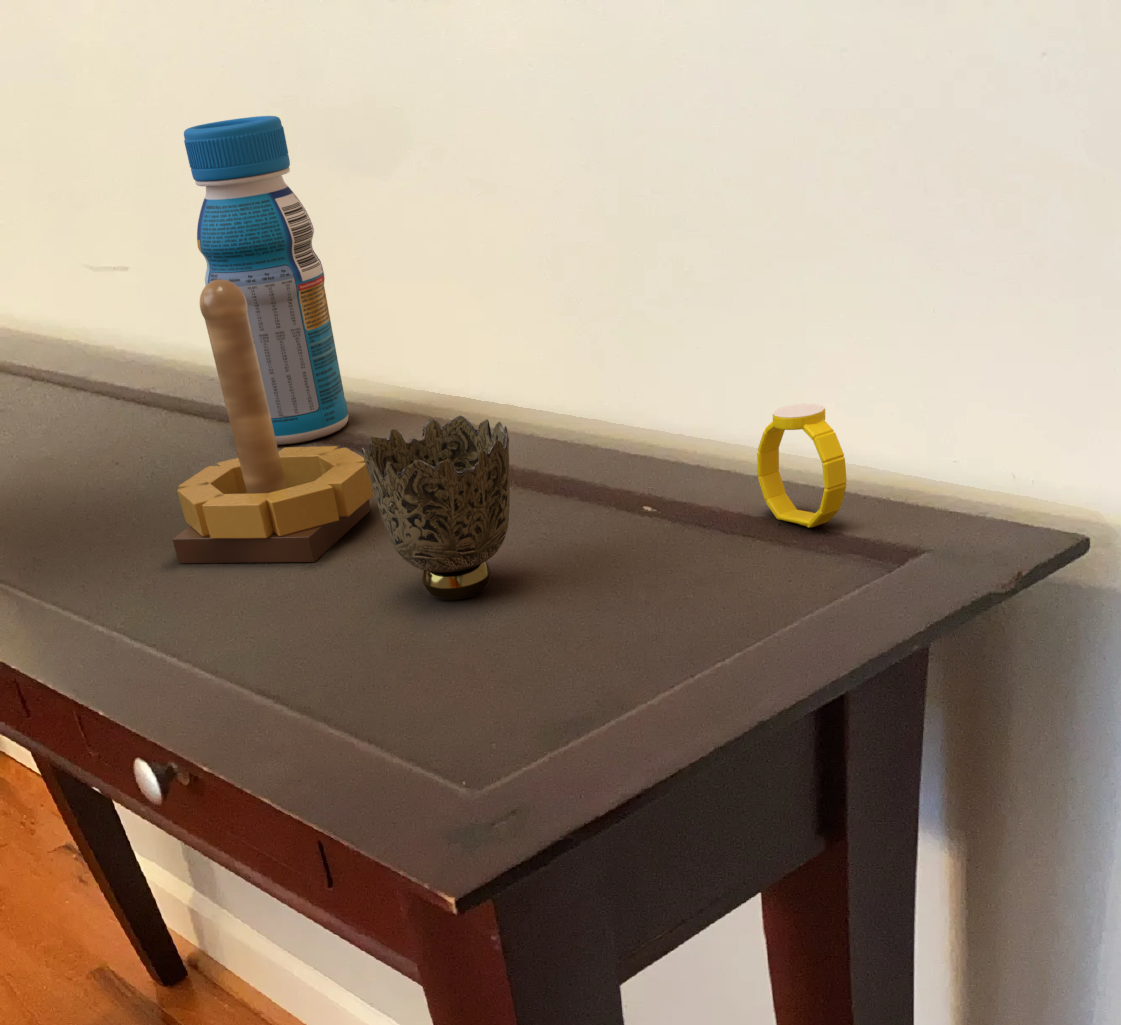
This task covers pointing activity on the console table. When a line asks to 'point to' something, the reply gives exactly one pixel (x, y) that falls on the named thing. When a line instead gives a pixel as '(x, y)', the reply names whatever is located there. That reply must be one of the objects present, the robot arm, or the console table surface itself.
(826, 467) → the watch
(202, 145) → the beverage bottle
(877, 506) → the console table surface
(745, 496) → the console table surface
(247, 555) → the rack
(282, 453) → the ring
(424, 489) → the cup
